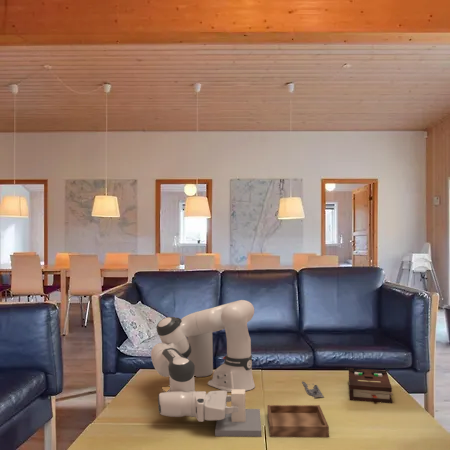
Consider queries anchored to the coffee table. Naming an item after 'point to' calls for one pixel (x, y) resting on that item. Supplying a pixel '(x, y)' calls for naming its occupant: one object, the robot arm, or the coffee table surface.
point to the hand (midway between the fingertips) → (238, 404)
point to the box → (297, 421)
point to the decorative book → (369, 385)
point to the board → (240, 425)
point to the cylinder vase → (201, 354)
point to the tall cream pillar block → (239, 401)
